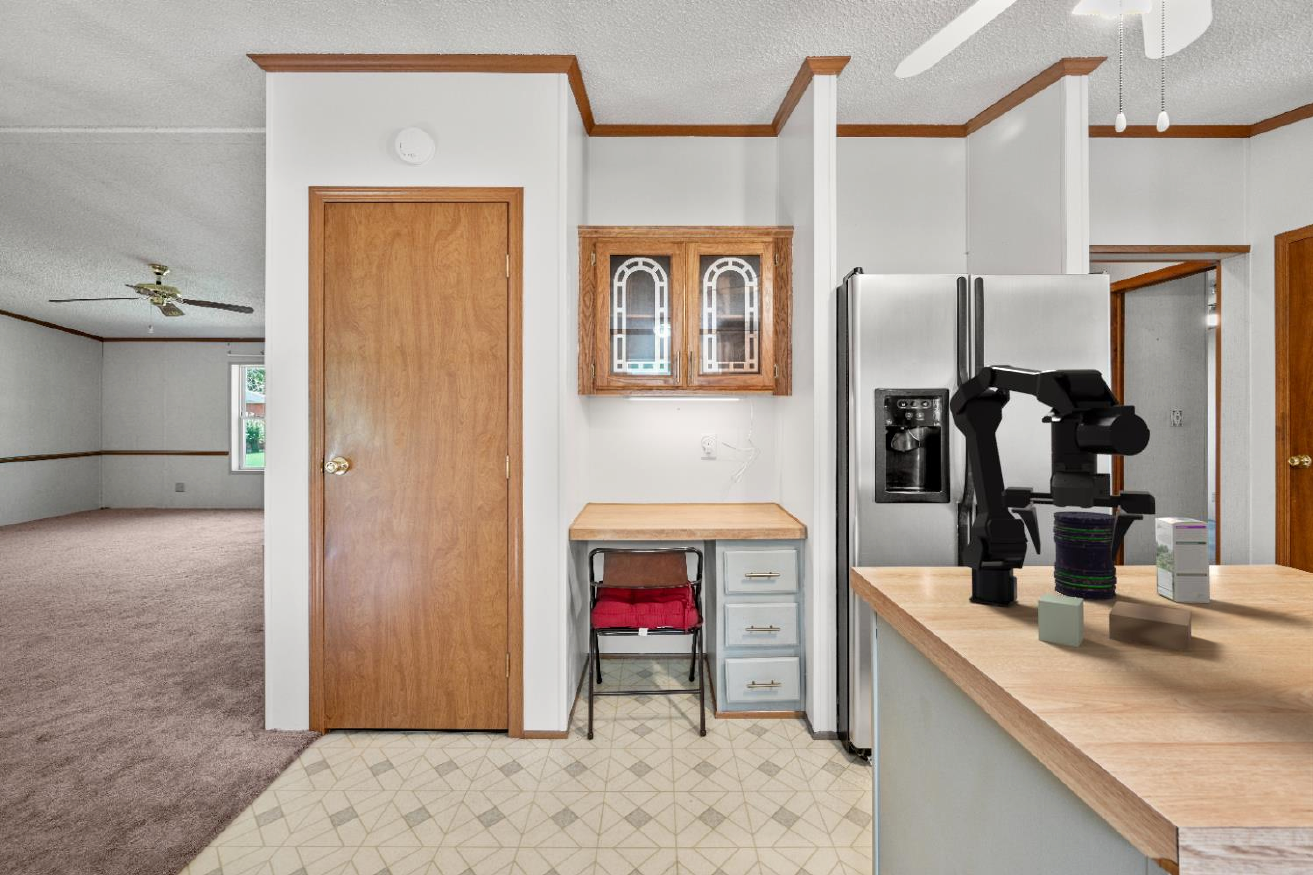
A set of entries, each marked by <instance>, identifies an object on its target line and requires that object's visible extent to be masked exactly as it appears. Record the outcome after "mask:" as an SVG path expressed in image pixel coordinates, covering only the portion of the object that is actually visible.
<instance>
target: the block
mask: <svg viewBox="0 0 1313 875" xmlns="http://www.w3.org/2000/svg"><path fill="white" fill-rule="evenodd" d="M1108 630H1109V631H1108V637H1109V638H1108V639H1110V640H1117V641H1122V642H1129V643H1134V644H1140V645H1146V646H1152V647H1157V648H1163V649H1167V650H1174V651H1179V652H1185V653H1189V652H1190V651H1189V650H1190V646H1191V641H1190V640H1192V611H1190V610H1184V609H1176V608H1168V607H1160V606H1156V605H1155V606H1154V605H1147V604H1141V603H1133V602H1126V601H1121V600H1120V601H1119V600H1117V601H1116V602H1115V604H1114V606H1113V607H1112V608H1111V610H1110V612H1109V614H1108Z"/></svg>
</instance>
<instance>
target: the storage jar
mask: <svg viewBox="0 0 1313 875" xmlns="http://www.w3.org/2000/svg"><path fill="white" fill-rule="evenodd" d="M1115 518H1116V515H1113V514H1109V513H1101V512H1093V511H1069V510H1068V511H1057V512H1053V519H1054V520H1053V527H1052V528H1053V529H1052V530H1053V531H1052V532H1053V537H1052V538H1053V542H1054V543H1055V547H1054V548H1055V561H1054V562H1053V578H1054V584H1055V586H1054V592H1055V591H1057V592H1059V593H1061V594H1063V595H1062V596H1064V595H1066V596H1068V597H1076V598H1083V600H1085V599H1087V600H1088V601H1111V600H1115V599H1116V598H1117V593H1116V590H1117V586H1116V585H1117V582H1118V580H1117V568H1116V566H1115V561H1111V545H1112V538H1113V531H1114V524H1115ZM1061 594H1060V595H1061Z"/></svg>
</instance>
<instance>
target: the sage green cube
mask: <svg viewBox="0 0 1313 875" xmlns="http://www.w3.org/2000/svg"><path fill="white" fill-rule="evenodd" d="M1037 607H1038V608H1037V610H1038V611H1037V614H1038V615H1037V616H1038V617H1037V619H1038V620H1037V621H1038V623H1037V624H1038V626H1037V627H1038V633H1037V634H1038V641H1043V642H1047V643H1048V642H1049V643H1054V644H1060V645H1065V646H1069V647H1070V646H1071V647H1075V648H1076V647H1077V648H1079V647H1080V645H1081V644H1082V642H1083V640H1084V638H1085V633H1084V630H1085V629H1084V628H1085V624H1084V619H1085V618H1084V616H1085V614H1084V608H1085V607H1084V599H1083V598H1075V597H1068V596H1064V595H1061V594H1053V593H1044V594H1042V596H1040V598H1038V600H1037Z"/></svg>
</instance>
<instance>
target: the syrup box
mask: <svg viewBox="0 0 1313 875" xmlns="http://www.w3.org/2000/svg"><path fill="white" fill-rule="evenodd" d="M1154 521H1155V522H1154V525H1155V555H1156V557H1155V562H1156V563H1155V564H1156V567H1155V568H1156V569H1155V570H1156V594H1157V595H1158V596H1162V597H1163V598H1166V599H1167V600H1170V601H1173V602H1174V603H1182V604H1210V603H1211V598H1210V597H1211V591H1210V589H1211V588H1210V587H1211V586H1210V553H1209V552H1210V549H1209V547H1210V546H1209V523H1208V522H1207V521H1202V520H1198V519H1193V518H1190V517H1189V518H1188V517H1178V516H1176V517H1174V516H1173V517H1171V516H1170V517H1156V518H1155V519H1154Z"/></svg>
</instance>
